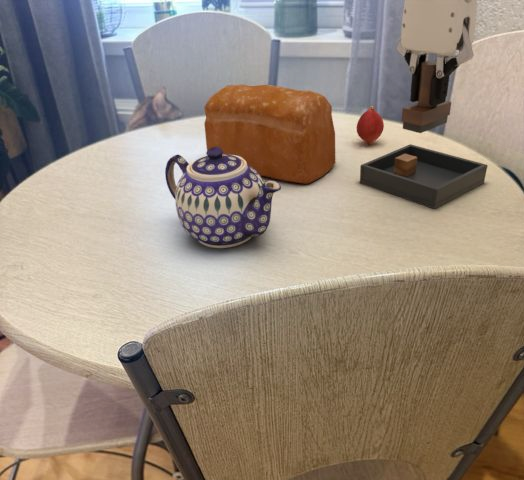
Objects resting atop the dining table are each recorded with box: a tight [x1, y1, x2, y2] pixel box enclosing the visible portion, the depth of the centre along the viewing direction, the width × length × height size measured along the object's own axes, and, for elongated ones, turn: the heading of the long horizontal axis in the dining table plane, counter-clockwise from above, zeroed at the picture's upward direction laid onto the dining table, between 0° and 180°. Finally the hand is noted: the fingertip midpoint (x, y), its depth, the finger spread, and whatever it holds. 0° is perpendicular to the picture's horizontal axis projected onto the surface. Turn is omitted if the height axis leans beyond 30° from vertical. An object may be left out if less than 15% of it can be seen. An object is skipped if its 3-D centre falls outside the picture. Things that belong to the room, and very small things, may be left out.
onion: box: [356, 105, 385, 145], centre depth 117 cm, size 6×6×8 cm
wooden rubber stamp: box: [400, 60, 452, 134], centre depth 83 cm, size 7×4×9 cm, turn 128°
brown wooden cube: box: [394, 154, 417, 177], centre depth 102 cm, size 3×3×3 cm
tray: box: [359, 143, 488, 210], centre depth 100 cm, size 18×15×4 cm
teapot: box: [164, 147, 282, 249], centre depth 86 cm, size 25×15×15 cm, turn 48°
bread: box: [204, 83, 336, 185], centre depth 109 cm, size 14×26×16 cm, turn 55°
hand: (427, 100), depth 84 cm, fingers closed on wooden rubber stamp, 3 cm apart
